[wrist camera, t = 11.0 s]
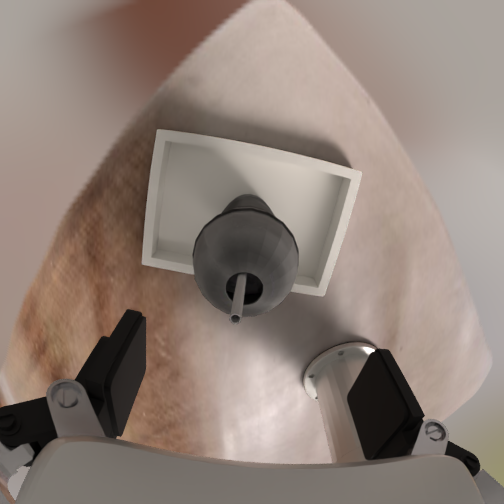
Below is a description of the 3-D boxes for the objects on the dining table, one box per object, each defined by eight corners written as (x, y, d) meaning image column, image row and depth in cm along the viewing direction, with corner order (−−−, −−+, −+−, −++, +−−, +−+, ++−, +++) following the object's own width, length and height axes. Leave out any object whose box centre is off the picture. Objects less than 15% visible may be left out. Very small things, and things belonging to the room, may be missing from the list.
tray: (352, 168, 30) (362, 172, 27) (318, 284, 35) (324, 296, 32) (165, 129, 28) (157, 129, 25) (149, 253, 33) (141, 264, 30)
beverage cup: (221, 253, 32) (189, 400, 14) (205, 189, 30) (133, 281, 11) (288, 241, 32) (330, 381, 13) (276, 174, 29) (318, 247, 11)
